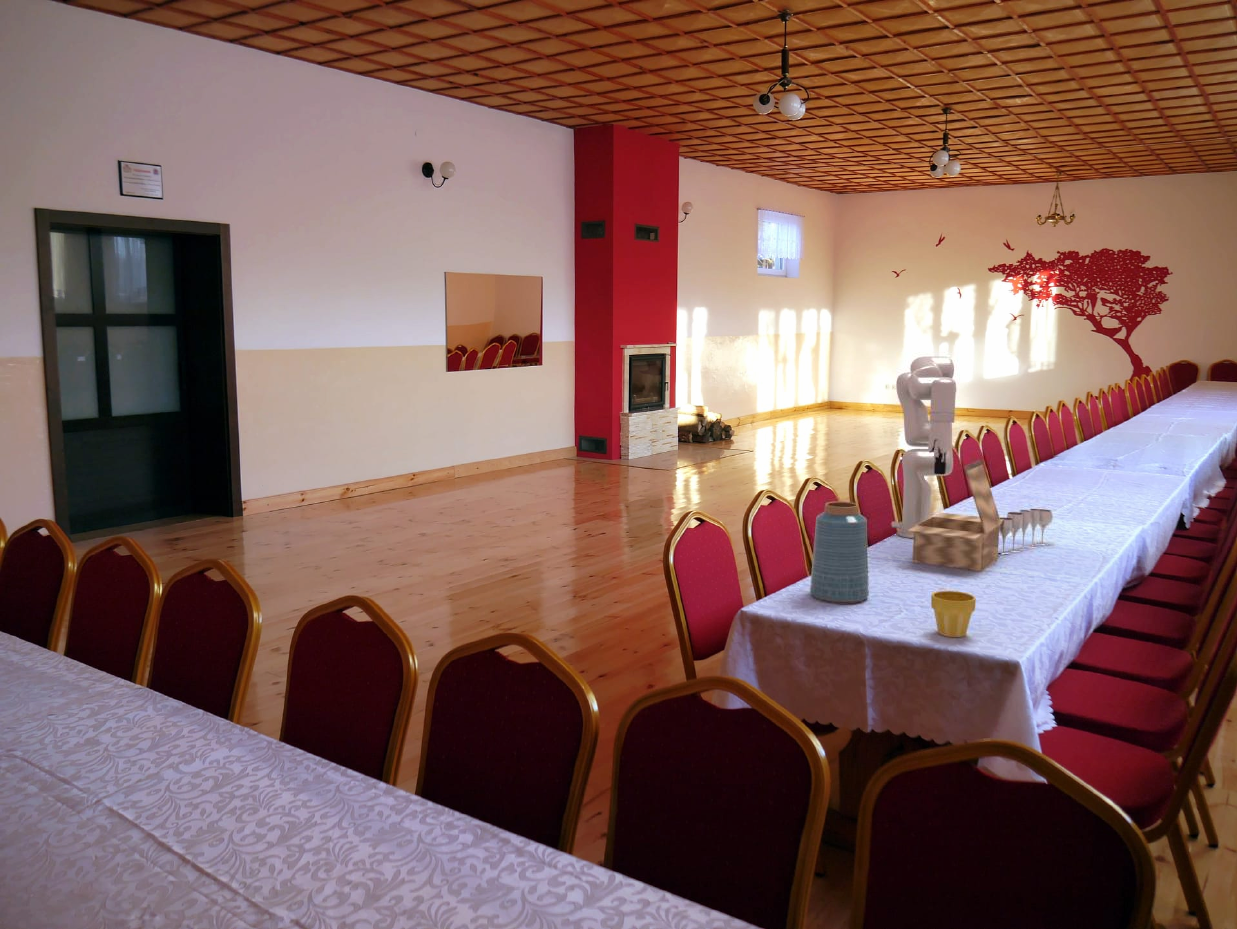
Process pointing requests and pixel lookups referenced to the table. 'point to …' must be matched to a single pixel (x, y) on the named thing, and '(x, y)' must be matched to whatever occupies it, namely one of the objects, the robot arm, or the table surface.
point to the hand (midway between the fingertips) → (939, 473)
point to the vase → (840, 555)
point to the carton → (955, 542)
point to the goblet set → (1024, 524)
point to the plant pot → (952, 612)
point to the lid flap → (982, 496)
